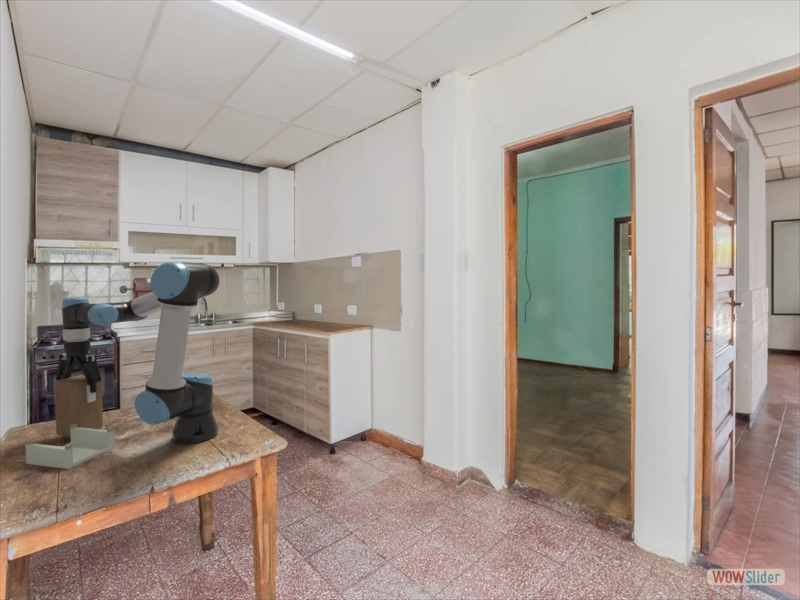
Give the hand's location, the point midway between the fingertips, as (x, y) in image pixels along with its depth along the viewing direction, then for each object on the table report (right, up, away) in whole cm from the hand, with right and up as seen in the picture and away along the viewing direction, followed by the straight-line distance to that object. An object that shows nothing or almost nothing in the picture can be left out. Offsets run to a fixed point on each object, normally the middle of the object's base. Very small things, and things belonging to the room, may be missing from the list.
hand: (79, 400), depth 145 cm
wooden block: (0, -12, +1) cm, 12 cm away
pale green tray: (+9, -15, -14) cm, 22 cm away
